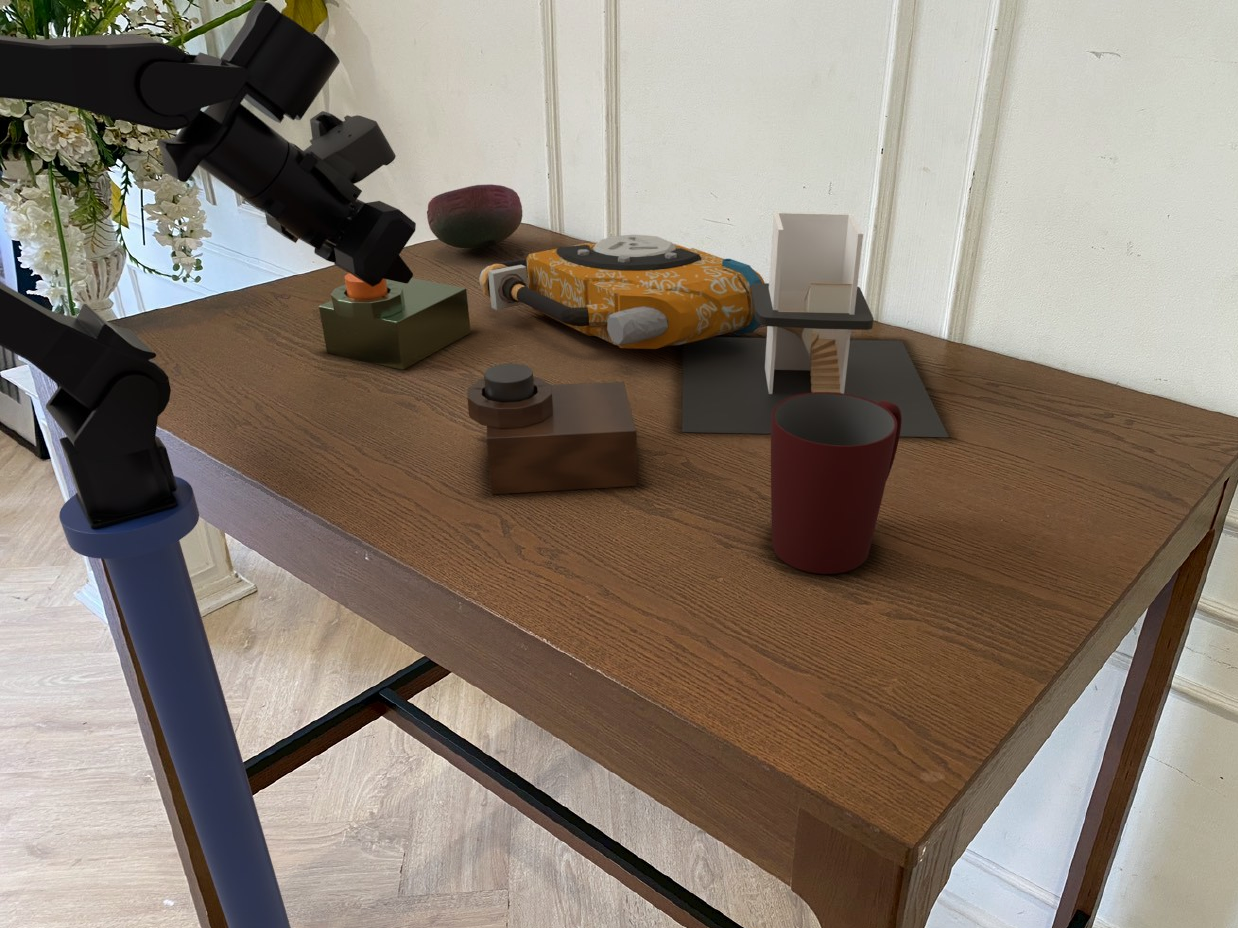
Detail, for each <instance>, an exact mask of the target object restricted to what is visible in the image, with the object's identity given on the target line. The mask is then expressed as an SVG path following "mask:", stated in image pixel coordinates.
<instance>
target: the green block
mask: <svg viewBox="0 0 1238 928" xmlns="http://www.w3.org/2000/svg"><path fill="white" fill-rule="evenodd" d="M386 283H387V290H388V294H386V295H384V296H382V297H377V298H371V299H355V298H350V297H348V296H347V289H346V283H345V284H343V285H340V286H338V287H336V288H334V289H333V290H332V293H331V294H330V296H331V300H330V301H327V302H325V303H323V304H320V305H318V309H319V310H318V311H319V315H320V321H321V327H322V333H323V338H324V344H325V350H326V353H327V354H331V355H334V356H335V355H336V356H339V357H344V358H348V359H354V360H357V361H362V362H366V363H370V364H376V365H379V366H383V367H388V368H393V369H397V370H401V371H403V370H406V369H408V368H410V367H411V366H413V365H415V364H416V363H419V362H420V361H422V360H423V359H426V358H427V357H429V356H432V355H433V354H435V353H436V352H438V351H440V350H442V349H444V348H446V347H448V346H449V345H451V344H453V343H455V342H456V341H459V340H460V339H462V338H464V337H466V336H467V335H469V334H471V332H472V331H471V324H470V313H469V303H468V302H469V301H468V292H467V290H468V289H467V288H466V287H462V286H456V285H451V284H445V283H440V282H435V281H430V280H424V279H419V278H414V277H412V278H411V280H410V281H409V283H407V284H406V283H401V282H397V281H392V280H388V279H386Z"/></svg>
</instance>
